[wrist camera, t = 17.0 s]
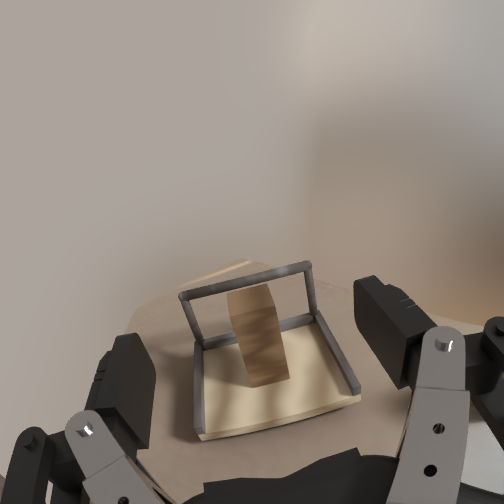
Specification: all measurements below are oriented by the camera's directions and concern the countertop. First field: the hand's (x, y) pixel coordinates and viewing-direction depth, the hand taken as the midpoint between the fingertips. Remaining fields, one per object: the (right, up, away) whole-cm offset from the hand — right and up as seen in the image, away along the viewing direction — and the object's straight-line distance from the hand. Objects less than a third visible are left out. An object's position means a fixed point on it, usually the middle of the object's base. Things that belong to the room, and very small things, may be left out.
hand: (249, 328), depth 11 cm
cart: (+3, -16, +31) cm, 35 cm away
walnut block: (+2, -13, +30) cm, 33 cm away
